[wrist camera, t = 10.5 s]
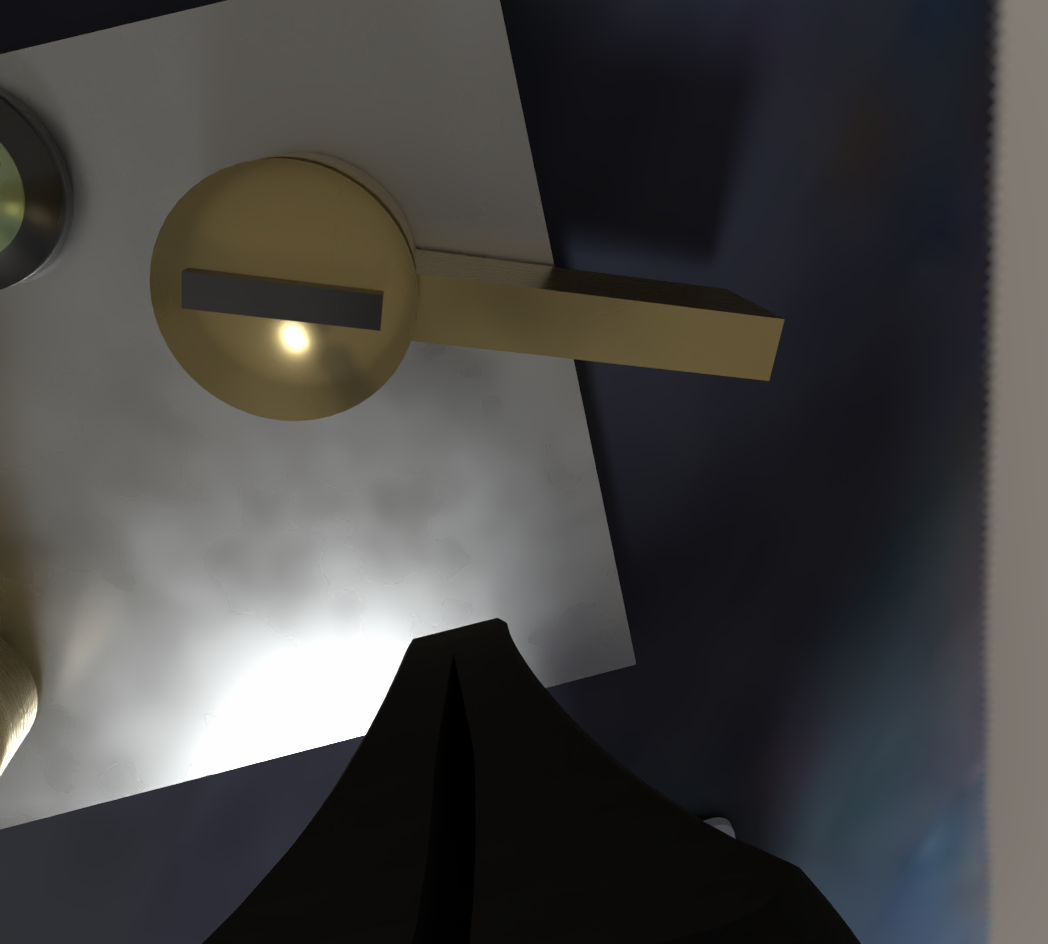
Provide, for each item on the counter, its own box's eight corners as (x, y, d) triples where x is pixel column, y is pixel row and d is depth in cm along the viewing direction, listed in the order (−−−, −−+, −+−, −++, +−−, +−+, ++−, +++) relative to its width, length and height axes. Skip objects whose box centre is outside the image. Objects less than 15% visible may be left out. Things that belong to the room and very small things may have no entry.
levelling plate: (626, 639, 24) (682, 777, 19) (-81, 822, 24) (-217, 1013, 18) (482, -50, 17) (510, -121, 12) (-504, 185, 17) (-898, 210, 12)
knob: (199, 357, 18) (144, 415, 15) (200, 136, 17) (139, 139, 13) (700, 409, 20) (764, 473, 16) (743, 214, 18) (826, 237, 15)
